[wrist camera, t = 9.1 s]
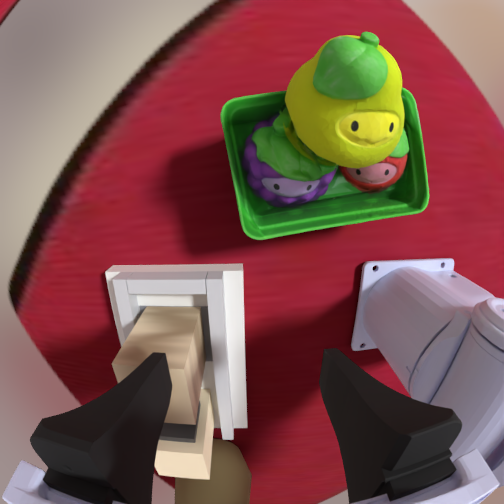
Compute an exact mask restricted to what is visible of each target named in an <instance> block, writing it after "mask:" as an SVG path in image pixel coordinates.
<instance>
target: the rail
mask: <svg viewBox="0 0 504 504" xmlns="http://www.w3.org/2000/svg"><path fill="white" fill-rule="evenodd" d="M105 274H106V279H107V285H108V290H109V295H110V300H111V305H112V310H113V314H114V319H115V323H116V327H117V331H118V335H119V339H120V343H121V347H122V346H123V344H124V342H125V341H126V339H127V337H128V336H129V334H130V332H131V331H132V329H133V328H134V326H135V324H136V323H137V321H138V320H139V318H140V316H141V315H142V313H143V312H144V310H145V309H146V307H147V306H156V307H201V314H202V324H203V333H204V342H205V350H206V362H205V368H204V374H203V380H202V387H201V393H200V399H199V406H198V413H197V419H196V425H192V424H177V423H165V422H164V424H163V428H162V431H161V434H160V438H159V441H158V446H157V451H156V458H155V465H154V466H155V468H156V470H157V472H158V474H159V475H163V476H171V477H181V478H192V479H208V480H210V468H211V455H212V442H213V430H214V428H221V431H222V438H223V440H234V428H248V427H247V397H246V366H245V331H244V291H243V264H192V265H113V266H112V267H111V268H109V269H108V270H107V271H106V272H105Z"/></svg>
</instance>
